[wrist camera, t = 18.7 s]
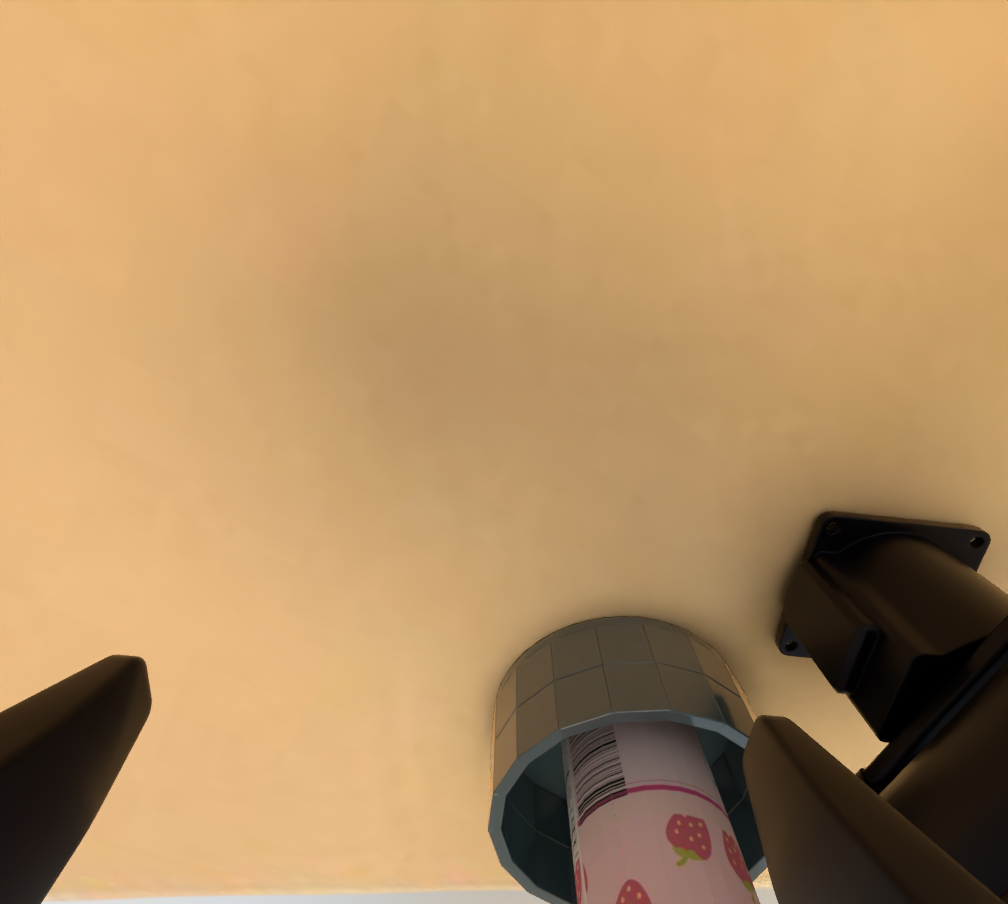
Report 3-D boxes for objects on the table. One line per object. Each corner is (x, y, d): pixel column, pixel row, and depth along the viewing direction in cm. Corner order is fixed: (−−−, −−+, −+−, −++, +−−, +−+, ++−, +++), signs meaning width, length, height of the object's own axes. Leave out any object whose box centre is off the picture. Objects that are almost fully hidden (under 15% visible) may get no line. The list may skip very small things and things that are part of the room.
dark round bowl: (769, 628, 23) (834, 725, 19) (706, 814, 27) (746, 933, 23) (507, 602, 23) (506, 694, 18) (482, 793, 27) (476, 909, 22)
